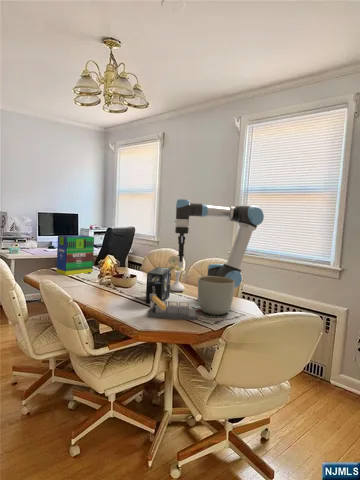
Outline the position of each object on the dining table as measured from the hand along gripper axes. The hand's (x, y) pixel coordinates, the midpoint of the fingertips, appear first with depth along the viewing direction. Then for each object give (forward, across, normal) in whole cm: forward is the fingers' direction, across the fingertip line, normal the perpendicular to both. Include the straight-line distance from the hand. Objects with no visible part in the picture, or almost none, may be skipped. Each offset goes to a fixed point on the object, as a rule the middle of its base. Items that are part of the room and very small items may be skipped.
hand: (180, 267), depth 198 cm
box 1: (+23, -85, -83) cm, 121 cm away
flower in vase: (+25, -42, -1) cm, 49 cm away
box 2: (+24, -14, -12) cm, 31 cm away
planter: (+25, +5, +20) cm, 32 cm away
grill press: (+24, +15, -4) cm, 28 cm away
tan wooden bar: (+15, +23, -12) cm, 30 cm away
